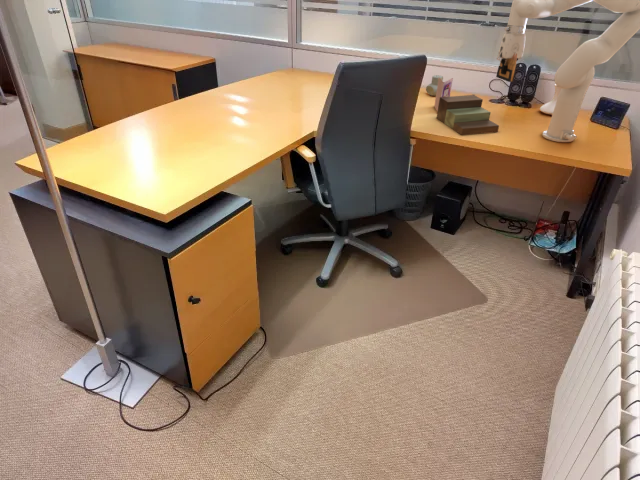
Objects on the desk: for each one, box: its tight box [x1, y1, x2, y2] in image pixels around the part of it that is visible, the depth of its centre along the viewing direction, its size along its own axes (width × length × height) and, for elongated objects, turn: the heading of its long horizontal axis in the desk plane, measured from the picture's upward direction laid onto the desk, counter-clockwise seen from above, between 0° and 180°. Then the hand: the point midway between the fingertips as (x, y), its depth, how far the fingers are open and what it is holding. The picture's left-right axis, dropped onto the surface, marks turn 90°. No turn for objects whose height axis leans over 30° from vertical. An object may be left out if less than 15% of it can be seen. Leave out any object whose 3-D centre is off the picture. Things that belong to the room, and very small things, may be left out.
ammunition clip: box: [496, 53, 518, 83], centre depth 196 cm, size 11×2×12 cm, turn 14°
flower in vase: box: [539, 83, 562, 116], centre depth 209 cm, size 13×11×25 cm
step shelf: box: [436, 94, 500, 136], centre depth 198 cm, size 24×18×10 cm
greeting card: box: [433, 77, 454, 112], centre depth 215 cm, size 11×7×15 cm, turn 143°
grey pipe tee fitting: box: [425, 74, 444, 97], centre depth 239 cm, size 11×8×10 cm
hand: (505, 73), depth 197 cm, fingers closed on ammunition clip, 2 cm apart
